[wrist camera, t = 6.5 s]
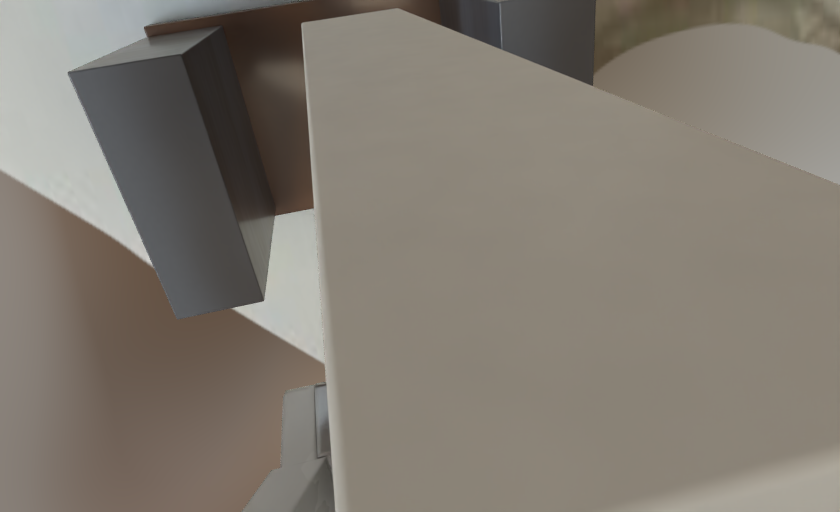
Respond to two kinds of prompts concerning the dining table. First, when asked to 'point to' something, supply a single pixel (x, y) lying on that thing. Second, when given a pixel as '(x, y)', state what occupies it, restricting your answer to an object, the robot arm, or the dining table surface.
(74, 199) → the dining table surface
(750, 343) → the white rectangular block
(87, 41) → the dining table surface
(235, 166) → the grey stand
